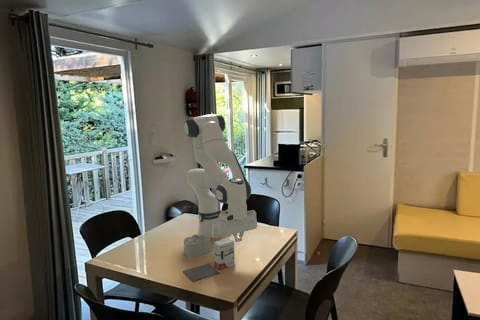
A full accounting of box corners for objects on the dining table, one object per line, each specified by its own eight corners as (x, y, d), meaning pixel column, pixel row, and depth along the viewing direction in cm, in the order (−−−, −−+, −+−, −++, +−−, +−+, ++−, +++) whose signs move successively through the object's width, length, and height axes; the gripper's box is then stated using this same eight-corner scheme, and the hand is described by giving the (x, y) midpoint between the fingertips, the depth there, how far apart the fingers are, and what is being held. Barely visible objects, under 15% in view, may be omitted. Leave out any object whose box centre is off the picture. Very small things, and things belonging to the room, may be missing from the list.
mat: (208, 264, 161) (208, 263, 161) (219, 273, 152) (219, 272, 152) (183, 271, 154) (183, 270, 154) (193, 281, 145) (193, 280, 145)
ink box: (219, 270, 155) (218, 245, 153) (214, 266, 159) (213, 242, 157) (235, 265, 160) (234, 241, 158) (229, 261, 164) (228, 237, 162)
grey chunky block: (183, 251, 178) (182, 235, 176) (207, 247, 182) (207, 231, 181) (187, 259, 168) (186, 242, 167) (213, 254, 172) (212, 238, 171)
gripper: (252, 207, 168) (252, 234, 170) (215, 215, 158) (216, 243, 159) (259, 210, 163) (260, 238, 165) (221, 218, 152) (223, 248, 154)
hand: (238, 241), depth 162 cm, fingers closed
